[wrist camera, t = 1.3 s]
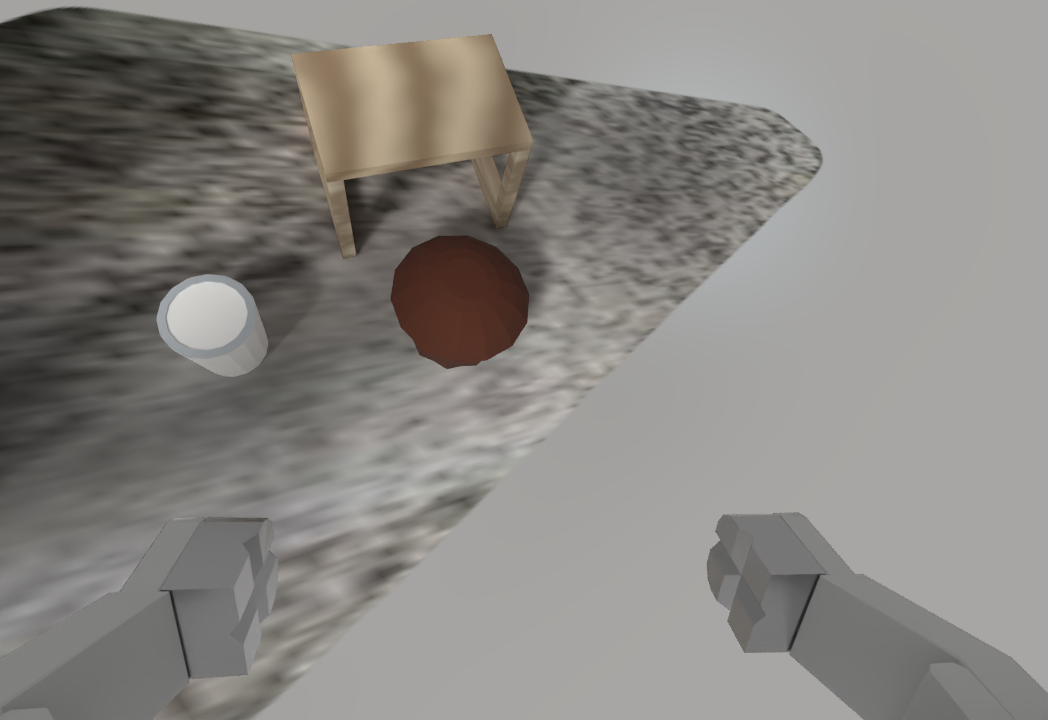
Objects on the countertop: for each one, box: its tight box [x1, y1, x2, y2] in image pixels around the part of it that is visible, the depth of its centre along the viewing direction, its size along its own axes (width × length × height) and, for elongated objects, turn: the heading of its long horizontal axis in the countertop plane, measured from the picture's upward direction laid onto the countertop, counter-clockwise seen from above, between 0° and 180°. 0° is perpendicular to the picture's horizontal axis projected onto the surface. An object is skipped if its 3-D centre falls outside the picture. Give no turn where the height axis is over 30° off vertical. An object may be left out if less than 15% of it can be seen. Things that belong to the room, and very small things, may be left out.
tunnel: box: [291, 34, 534, 259], centre depth 51 cm, size 16×11×13 cm
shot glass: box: [156, 274, 269, 377], centre depth 46 cm, size 7×7×7 cm
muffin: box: [391, 236, 529, 369], centre depth 49 cm, size 12×11×10 cm
